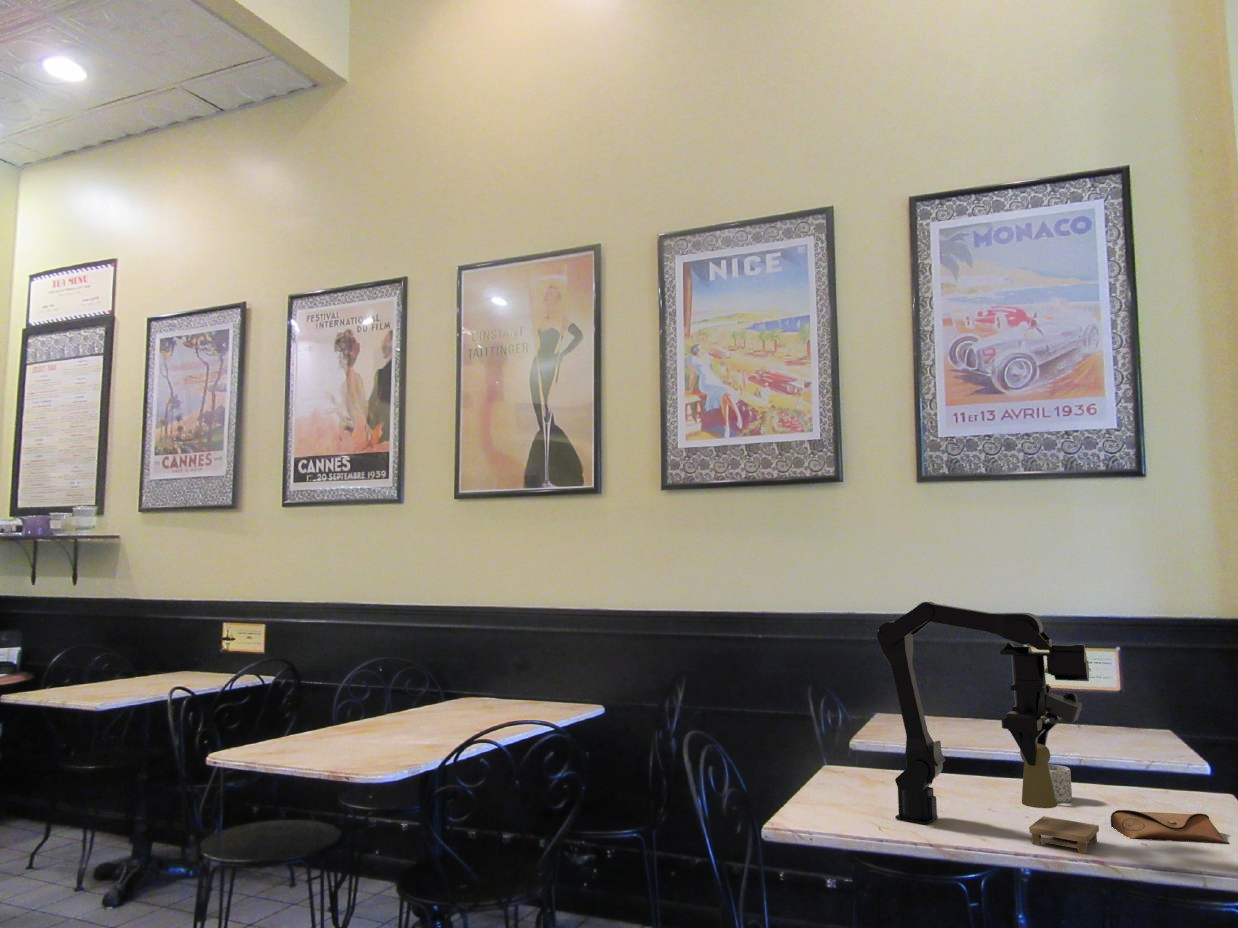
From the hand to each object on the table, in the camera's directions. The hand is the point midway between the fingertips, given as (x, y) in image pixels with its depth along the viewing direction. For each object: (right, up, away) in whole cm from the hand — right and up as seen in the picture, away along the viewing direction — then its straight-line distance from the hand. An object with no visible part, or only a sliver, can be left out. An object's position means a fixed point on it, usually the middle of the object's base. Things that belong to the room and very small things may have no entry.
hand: (1035, 762), depth 165 cm
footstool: (+3, -13, -5) cm, 14 cm away
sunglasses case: (+25, -14, -1) cm, 29 cm away
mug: (+16, -17, +25) cm, 34 cm away
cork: (0, -8, -1) cm, 8 cm away
